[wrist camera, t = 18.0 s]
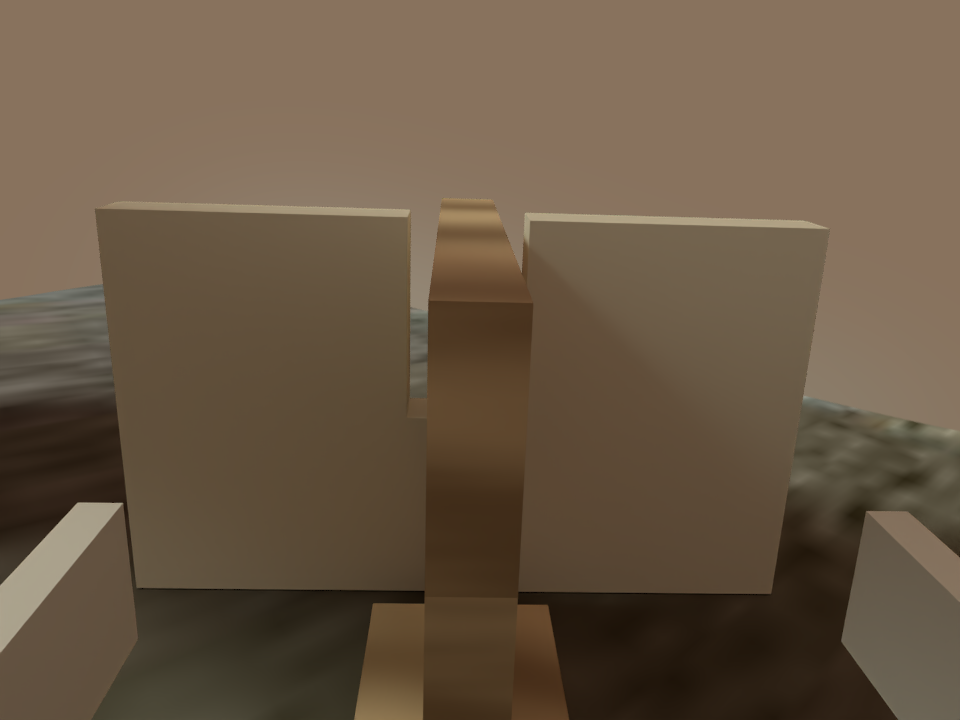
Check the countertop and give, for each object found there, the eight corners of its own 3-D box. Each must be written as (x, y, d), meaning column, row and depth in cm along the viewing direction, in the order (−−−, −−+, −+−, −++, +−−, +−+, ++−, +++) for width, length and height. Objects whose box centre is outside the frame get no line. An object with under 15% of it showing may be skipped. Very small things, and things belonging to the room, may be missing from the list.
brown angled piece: (585, 865, 20) (637, 305, 16) (337, 866, 20) (322, 298, 15) (525, 516, 36) (542, 201, 32) (391, 514, 36) (391, 196, 32)
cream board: (136, 587, 30) (94, 208, 26) (155, 559, 32) (119, 201, 28) (771, 594, 31) (829, 228, 27) (752, 565, 33) (805, 220, 29)
